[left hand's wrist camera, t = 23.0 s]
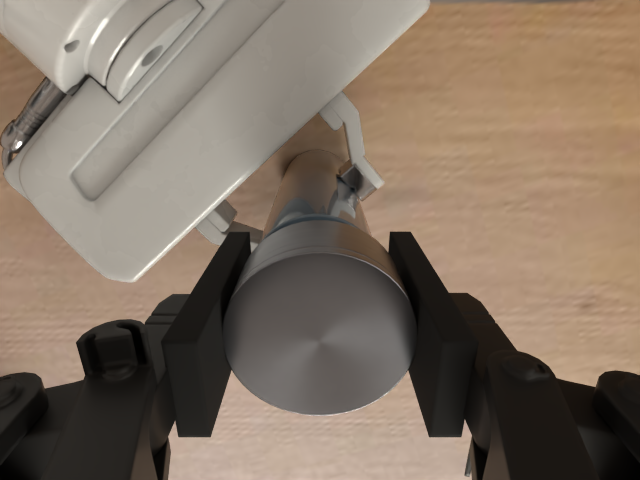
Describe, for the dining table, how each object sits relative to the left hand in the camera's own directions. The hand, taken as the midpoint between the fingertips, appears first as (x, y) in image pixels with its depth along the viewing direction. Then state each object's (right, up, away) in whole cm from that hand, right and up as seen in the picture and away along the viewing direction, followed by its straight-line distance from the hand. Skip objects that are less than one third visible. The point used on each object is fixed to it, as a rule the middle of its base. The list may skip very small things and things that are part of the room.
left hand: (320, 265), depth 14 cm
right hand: (0, +2, +6) cm, 6 cm away
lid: (0, -2, -4) cm, 4 cm away
